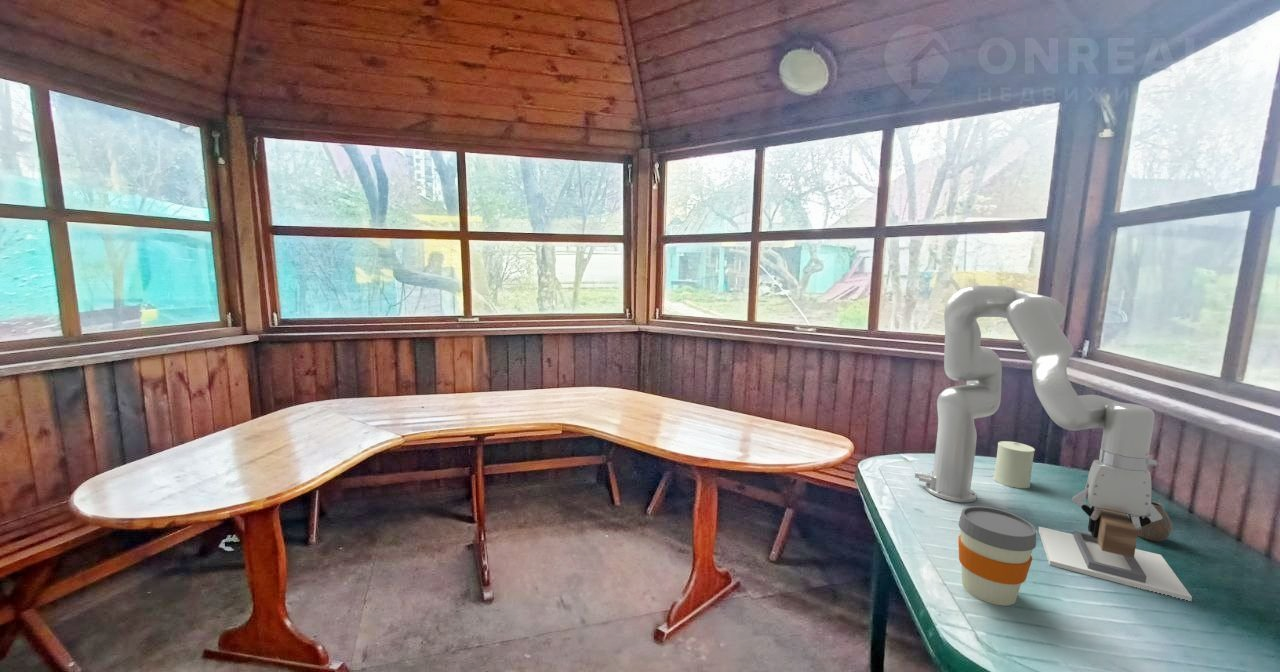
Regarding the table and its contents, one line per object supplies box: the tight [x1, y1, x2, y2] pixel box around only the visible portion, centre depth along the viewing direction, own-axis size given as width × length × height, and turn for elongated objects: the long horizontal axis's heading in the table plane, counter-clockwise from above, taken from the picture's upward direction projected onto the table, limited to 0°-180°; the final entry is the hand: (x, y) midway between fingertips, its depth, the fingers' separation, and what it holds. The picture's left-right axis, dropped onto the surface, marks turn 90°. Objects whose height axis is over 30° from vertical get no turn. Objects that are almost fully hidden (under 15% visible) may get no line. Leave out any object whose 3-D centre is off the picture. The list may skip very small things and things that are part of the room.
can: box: [992, 440, 1036, 489], centre depth 155 cm, size 9×9×12 cm
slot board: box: [1038, 526, 1193, 602], centre depth 113 cm, size 22×18×2 cm
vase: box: [1137, 501, 1173, 543], centre depth 124 cm, size 7×7×9 cm
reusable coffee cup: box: [957, 505, 1037, 607], centre depth 100 cm, size 13×13×15 cm
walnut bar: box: [1096, 509, 1139, 558], centre depth 112 cm, size 12×5×6 cm, turn 148°
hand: (1110, 538), depth 112 cm, fingers closed on walnut bar, 5 cm apart
